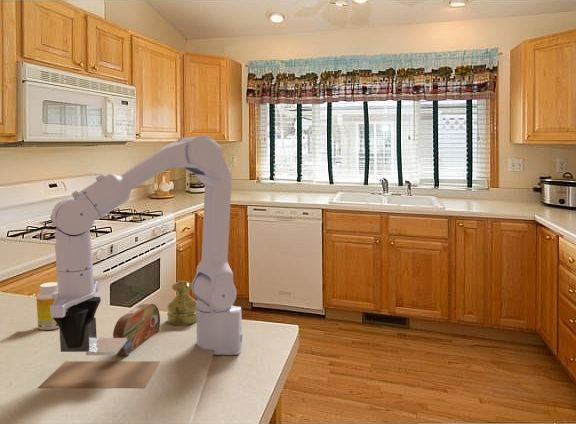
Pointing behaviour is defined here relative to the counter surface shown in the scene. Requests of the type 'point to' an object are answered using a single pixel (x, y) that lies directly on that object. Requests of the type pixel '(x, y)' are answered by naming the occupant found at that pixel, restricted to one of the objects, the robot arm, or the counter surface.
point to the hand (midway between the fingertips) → (79, 342)
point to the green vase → (182, 305)
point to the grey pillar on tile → (94, 341)
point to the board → (101, 374)
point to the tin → (137, 327)
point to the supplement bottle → (46, 306)
